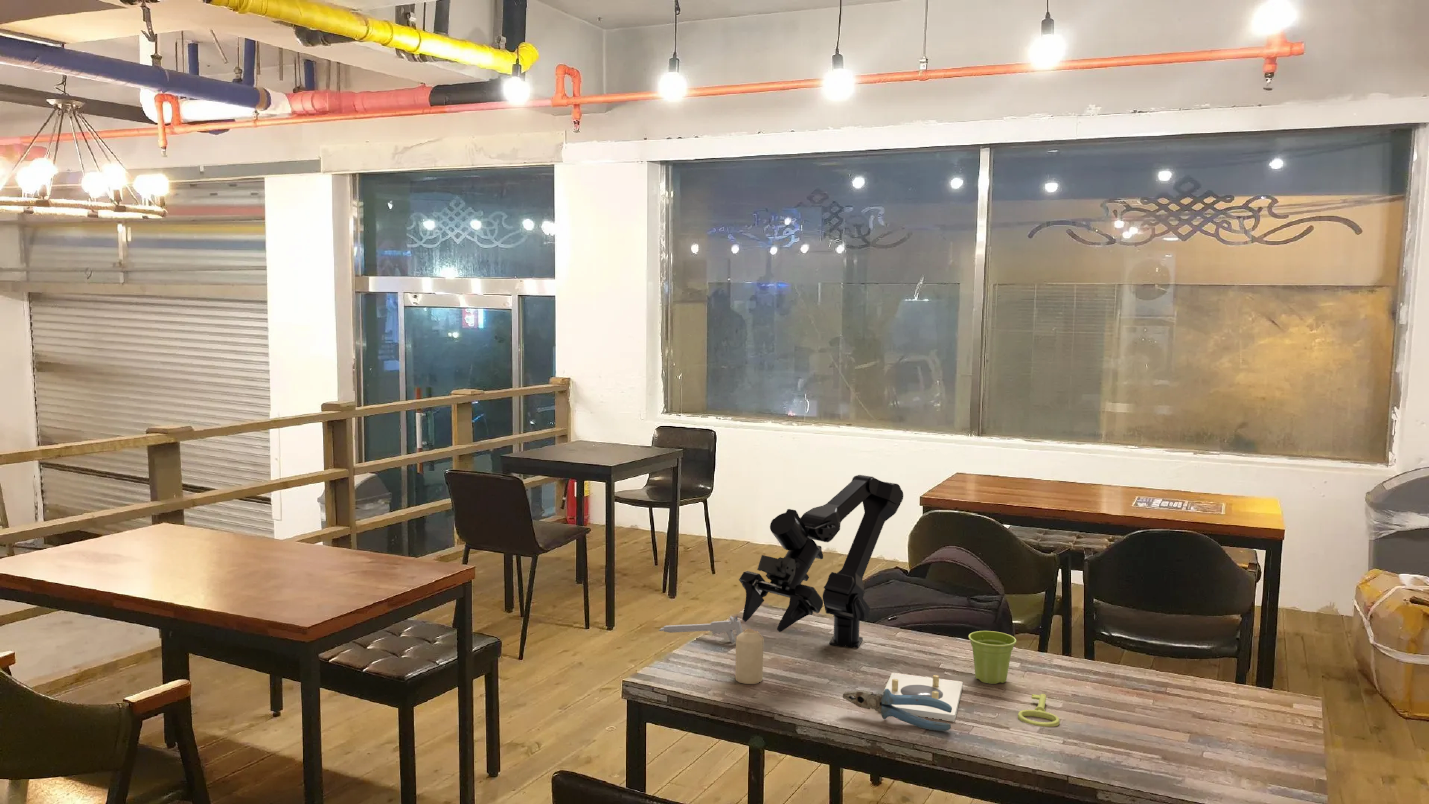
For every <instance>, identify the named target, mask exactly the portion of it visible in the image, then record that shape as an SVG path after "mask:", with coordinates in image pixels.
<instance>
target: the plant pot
mask: <svg viewBox="0 0 1429 804" xmlns="http://www.w3.org/2000/svg"><path fill="white" fill-rule="evenodd" d="M968 639H969V641H970V645H971V647H972V654H973V655H972V656H973V663H974V665H973V667H974V673H975V679H976V680H979V681H980V682H982V683H984V684H990V685H995V684H996V685H997V684H999V683H1002V684H1004V683H1005V682H1007V680H1008V673H1009V667H1010V661H1011V656H1012V652H1013V650H1014V646H1015V644H1017V639H1016V638H1015V636H1013V635H1011V634H1007V633H1005V632H999V631H993V630H992V631H991V630H979V631H978V630H977V631H973V632H971V633H969V634H968Z"/></svg>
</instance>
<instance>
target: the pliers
mask: <svg viewBox="0 0 1429 804" xmlns="http://www.w3.org/2000/svg"><path fill="white" fill-rule="evenodd" d="M842 699H845V700H846V701H847V702H849V703H851V704H853V705H854V706H856V707H859V708H862V709H867V710H870V709H872V710H874V711H875V712H880V714H881V718H882V719H883V720H887V718H889V717H893V718H895V719H897V720H900V721H902V722H904V723H906V724H910V725H912V726H915V727H917V728H920V729H924V730H928V729H929V731H935V730H936V731H938V732H946V731H949V730H951V729H952V725H951V723H947V722H940V721H934V720H928V719H927V718H926V719H925V718H924V717H918V716H915V715H912V714H910V713H908V712H906V711H903V710H901V709H899V708H897V707H894V706H893V705H922V706H929V707H934V708H937V709H940V710H943V711H946V712H949V713H951V711H952V707H951V706H950V705H949V704H947V703H946V702H943V701H941V700H938V699H935V698H931V697H926V696H919V695H893V694H892V693H891V692H890V690H889V689H885V688H884V690H883V693H874V692H872V691H868V690H864V689H863V690H862V689H861V690H851V691H849V690H848V691H845V692H843V694H842ZM936 731H935V732H936Z"/></svg>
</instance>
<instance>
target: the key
mask: <svg viewBox="0 0 1429 804" xmlns="http://www.w3.org/2000/svg"><path fill="white" fill-rule="evenodd" d="M1031 700H1036V701H1037V700H1038V703H1037V706H1036V707H1035V708H1034V709H1023V710H1020V711H1018V713H1017V714H1018V715H1017V719H1018V721H1021V722H1022V723H1025V724H1028V725H1033V726H1036V727H1037V726H1039V727H1048V728H1049V727H1058V726H1059V725H1060V717H1059V716H1058V715H1056V714H1053V713H1051V712H1048V711H1046V709H1045V708H1046V707H1045V706H1046V702H1047V695H1046V694H1045V693H1040V694H1035V693H1034V694H1031ZM1027 717H1036V718H1042V719H1047V720H1050V721H1048V722H1044V721H1043V722H1041V721H1036V720H1032V719H1029V718H1027Z"/></svg>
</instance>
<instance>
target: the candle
mask: <svg viewBox="0 0 1429 804" xmlns="http://www.w3.org/2000/svg"><path fill="white" fill-rule="evenodd" d="M764 641H765V640H764V637H763V635H761V633H760V632H759V631H758V630H753V629H752V628H746V629H745V630H742V633H740V634H739V635H738V636H737V635H736V638H735V669H734V670H735V673H734V674H735V676H734V677H735V681H736V682H738V683H740V684H745V685H756V684H760V683H761V682H762V681H763V676H764ZM759 682H760V683H759Z"/></svg>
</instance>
